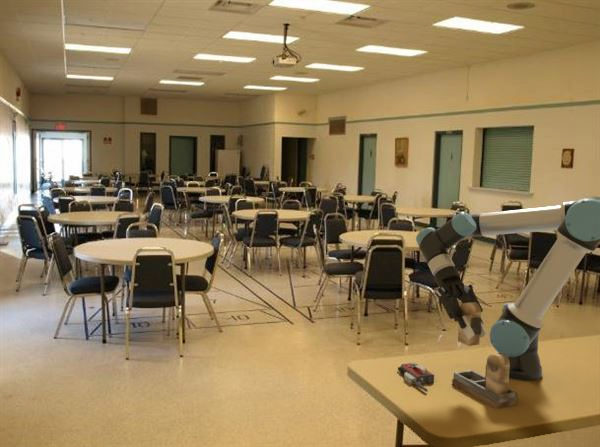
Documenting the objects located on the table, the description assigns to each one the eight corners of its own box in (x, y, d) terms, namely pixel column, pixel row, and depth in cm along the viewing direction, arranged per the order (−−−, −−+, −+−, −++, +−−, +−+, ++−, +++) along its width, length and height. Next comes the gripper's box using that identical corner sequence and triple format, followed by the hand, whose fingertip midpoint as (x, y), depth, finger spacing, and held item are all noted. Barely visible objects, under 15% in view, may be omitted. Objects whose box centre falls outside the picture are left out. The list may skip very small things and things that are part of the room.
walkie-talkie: (391, 372, 201) (423, 395, 183) (392, 359, 201) (424, 381, 182) (415, 370, 204) (448, 392, 186) (415, 357, 204) (449, 378, 185)
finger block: (468, 339, 189) (469, 300, 187) (481, 345, 183) (483, 304, 182) (457, 341, 187) (459, 301, 185) (470, 346, 182) (472, 306, 180)
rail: (472, 380, 195) (474, 337, 193) (517, 404, 176) (520, 357, 175) (452, 383, 191) (454, 340, 190) (495, 408, 173) (498, 360, 172)
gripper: (459, 275, 201) (493, 338, 188) (417, 280, 193) (448, 345, 181) (471, 262, 195) (506, 326, 183) (428, 266, 188) (461, 333, 175)
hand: (477, 336), depth 182 cm, fingers closed on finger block, 4 cm apart
